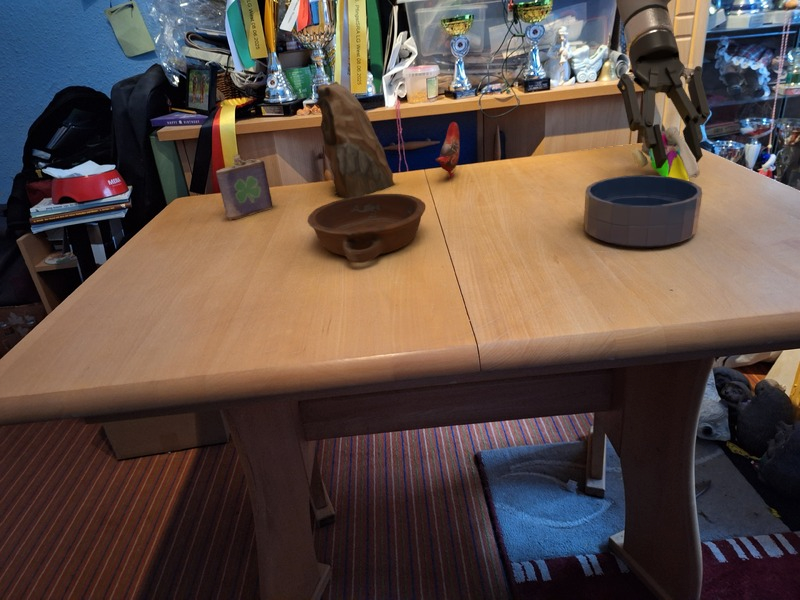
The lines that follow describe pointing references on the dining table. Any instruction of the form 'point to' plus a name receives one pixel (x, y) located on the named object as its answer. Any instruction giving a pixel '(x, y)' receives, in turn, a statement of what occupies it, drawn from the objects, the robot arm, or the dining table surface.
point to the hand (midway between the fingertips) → (679, 162)
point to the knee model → (670, 156)
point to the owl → (351, 144)
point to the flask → (244, 188)
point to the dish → (367, 224)
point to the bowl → (642, 210)
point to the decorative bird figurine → (450, 149)
